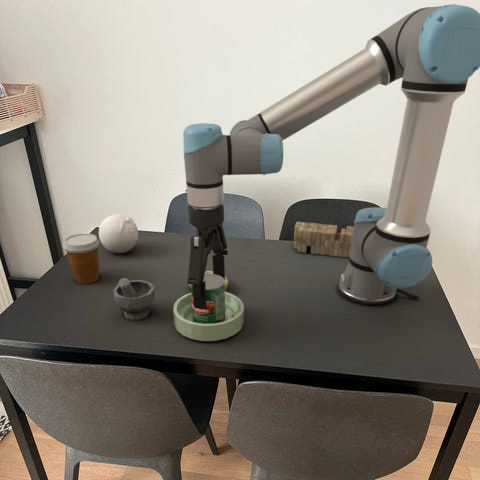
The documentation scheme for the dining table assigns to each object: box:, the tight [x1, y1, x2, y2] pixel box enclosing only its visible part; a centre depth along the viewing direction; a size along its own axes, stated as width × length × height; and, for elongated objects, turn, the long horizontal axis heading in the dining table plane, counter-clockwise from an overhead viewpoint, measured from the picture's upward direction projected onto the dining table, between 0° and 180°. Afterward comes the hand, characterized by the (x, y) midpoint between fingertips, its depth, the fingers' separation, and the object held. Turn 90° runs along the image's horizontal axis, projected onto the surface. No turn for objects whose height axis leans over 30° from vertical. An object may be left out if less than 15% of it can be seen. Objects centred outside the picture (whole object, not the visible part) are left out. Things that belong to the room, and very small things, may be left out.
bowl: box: [172, 291, 245, 342], centre depth 111 cm, size 17×17×5 cm
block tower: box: [293, 221, 354, 259], centre depth 148 cm, size 8×8×29 cm
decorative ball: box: [98, 213, 139, 254], centre depth 146 cm, size 12×12×12 cm
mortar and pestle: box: [112, 277, 156, 321], centre depth 113 cm, size 11×9×12 cm
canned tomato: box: [190, 274, 226, 324], centre depth 109 cm, size 8×8×11 cm
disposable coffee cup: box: [62, 232, 100, 285], centre depth 129 cm, size 10×10×12 cm
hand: (210, 293), depth 108 cm, fingers open, 13 cm apart
